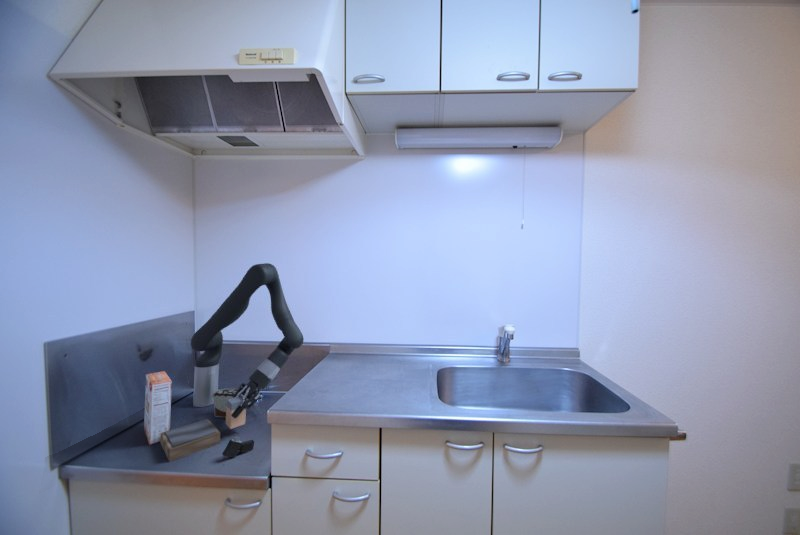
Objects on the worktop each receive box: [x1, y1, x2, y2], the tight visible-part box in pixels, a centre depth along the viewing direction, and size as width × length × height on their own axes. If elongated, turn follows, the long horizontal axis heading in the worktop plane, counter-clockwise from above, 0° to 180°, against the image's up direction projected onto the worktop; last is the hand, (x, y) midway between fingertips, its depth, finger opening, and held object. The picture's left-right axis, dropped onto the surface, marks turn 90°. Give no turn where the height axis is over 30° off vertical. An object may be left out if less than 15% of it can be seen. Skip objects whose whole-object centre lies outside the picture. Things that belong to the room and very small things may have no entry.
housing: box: [225, 396, 247, 430], centre depth 108 cm, size 5×5×9 cm
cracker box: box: [143, 370, 173, 446], centre depth 105 cm, size 14×6×21 cm, turn 47°
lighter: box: [222, 435, 255, 458], centre depth 96 cm, size 9×2×6 cm
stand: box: [159, 418, 221, 462], centre depth 100 cm, size 14×14×4 cm
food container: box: [212, 387, 239, 419], centre depth 122 cm, size 12×6×10 cm, turn 84°
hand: (230, 414), depth 106 cm, fingers closed on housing, 5 cm apart
